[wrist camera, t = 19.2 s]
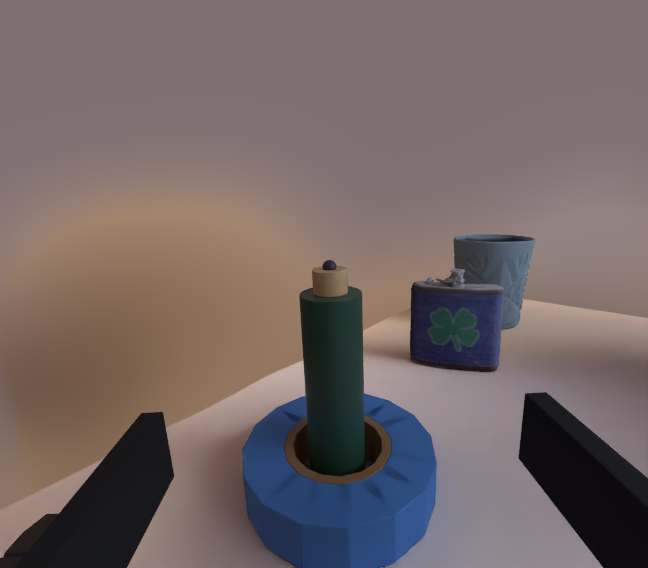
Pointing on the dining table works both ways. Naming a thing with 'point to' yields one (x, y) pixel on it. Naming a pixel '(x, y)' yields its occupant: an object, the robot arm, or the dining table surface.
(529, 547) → the dining table surface
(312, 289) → the green cylinder
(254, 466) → the tape roll
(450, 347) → the flask
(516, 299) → the grey faceted cup
